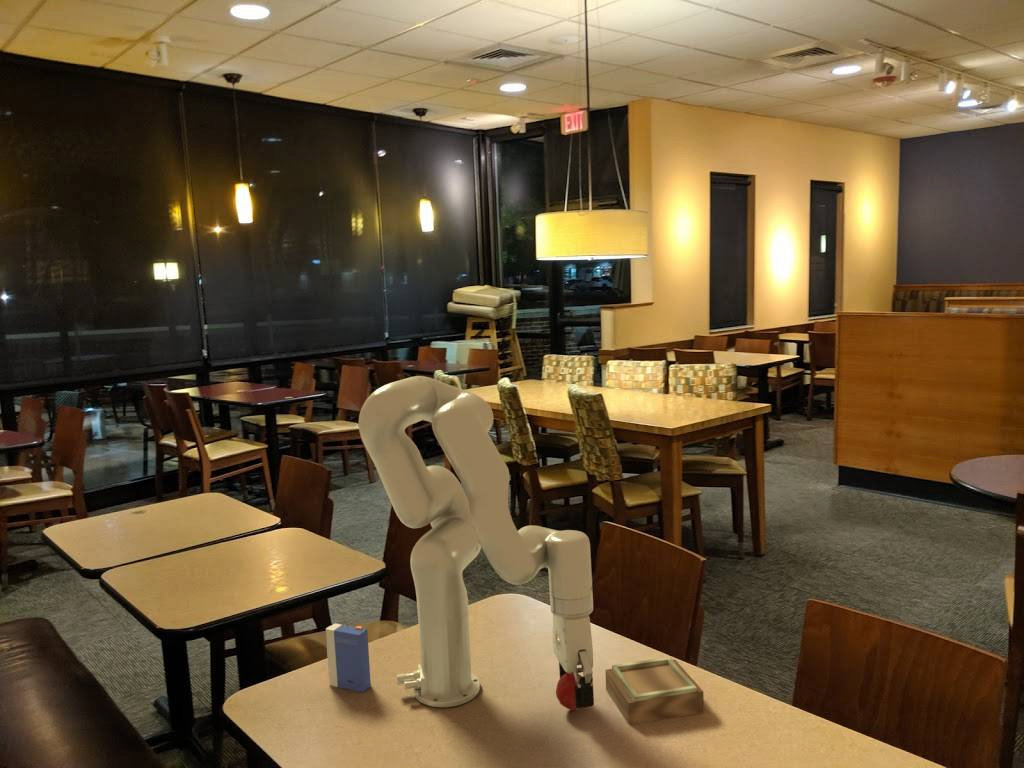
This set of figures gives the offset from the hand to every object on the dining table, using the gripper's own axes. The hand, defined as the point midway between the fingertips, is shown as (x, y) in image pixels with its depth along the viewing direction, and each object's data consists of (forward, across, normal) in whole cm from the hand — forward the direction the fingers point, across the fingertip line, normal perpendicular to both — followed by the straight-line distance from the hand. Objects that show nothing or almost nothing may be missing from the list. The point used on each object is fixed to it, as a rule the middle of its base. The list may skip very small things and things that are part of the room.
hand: (576, 692), depth 141 cm
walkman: (+2, -20, -40) cm, 45 cm away
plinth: (+4, 0, +14) cm, 15 cm away
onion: (+4, 0, -1) cm, 4 cm away
